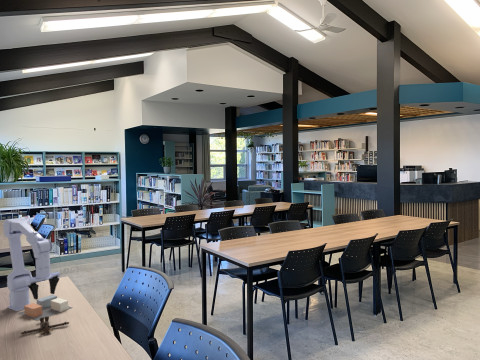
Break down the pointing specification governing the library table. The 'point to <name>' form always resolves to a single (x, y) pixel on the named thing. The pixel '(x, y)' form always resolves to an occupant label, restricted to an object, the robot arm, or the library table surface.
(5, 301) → the library table surface
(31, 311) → the terracotta brick
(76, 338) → the library table surface
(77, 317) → the library table surface
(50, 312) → the charcoal mat
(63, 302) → the cream brick
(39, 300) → the slate brick
